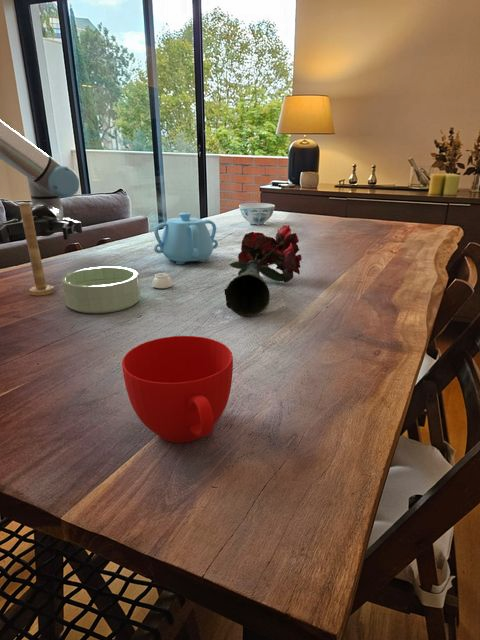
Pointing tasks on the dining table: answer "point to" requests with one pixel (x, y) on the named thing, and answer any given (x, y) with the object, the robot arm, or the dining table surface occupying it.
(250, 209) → the chinaware
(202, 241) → the decorative pot
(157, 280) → the white jar
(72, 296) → the bowl
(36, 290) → the stirrer
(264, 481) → the dining table surface
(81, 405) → the dining table surface
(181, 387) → the ceramic cup
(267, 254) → the red rose bouquet
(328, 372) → the dining table surface
